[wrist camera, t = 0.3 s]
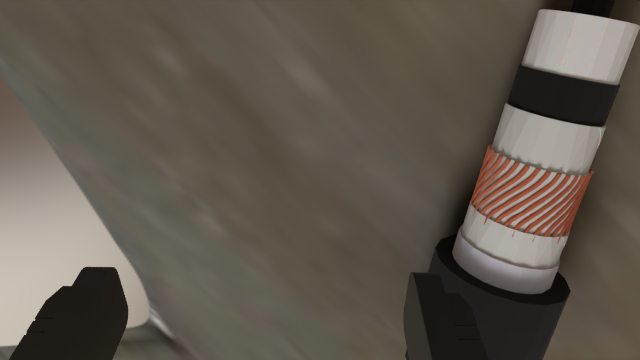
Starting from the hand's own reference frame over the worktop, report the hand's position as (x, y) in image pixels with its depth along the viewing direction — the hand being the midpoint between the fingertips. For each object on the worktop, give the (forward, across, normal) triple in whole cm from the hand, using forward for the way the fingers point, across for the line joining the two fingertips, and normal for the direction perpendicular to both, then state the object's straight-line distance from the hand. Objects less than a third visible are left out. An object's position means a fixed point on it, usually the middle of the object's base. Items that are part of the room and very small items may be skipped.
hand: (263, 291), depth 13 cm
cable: (+24, -17, +10) cm, 31 cm away
